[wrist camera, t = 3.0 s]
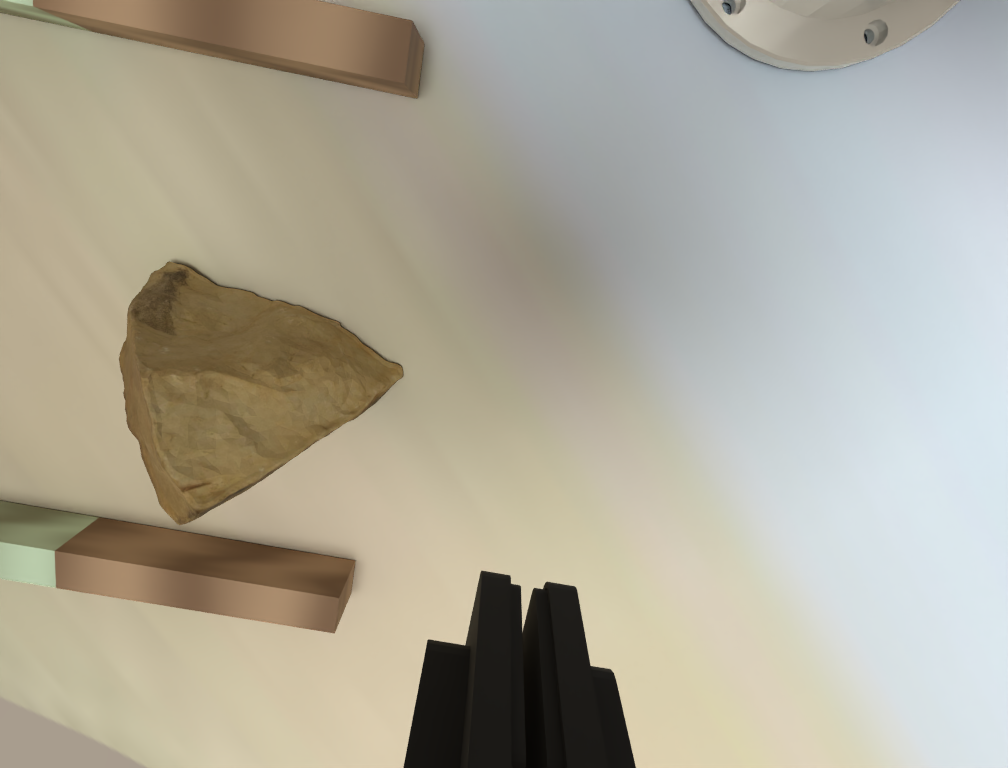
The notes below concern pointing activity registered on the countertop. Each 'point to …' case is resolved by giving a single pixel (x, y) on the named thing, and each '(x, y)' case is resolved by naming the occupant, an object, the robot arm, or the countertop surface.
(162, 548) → the channel
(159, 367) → the rock
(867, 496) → the countertop surface
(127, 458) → the countertop surface
